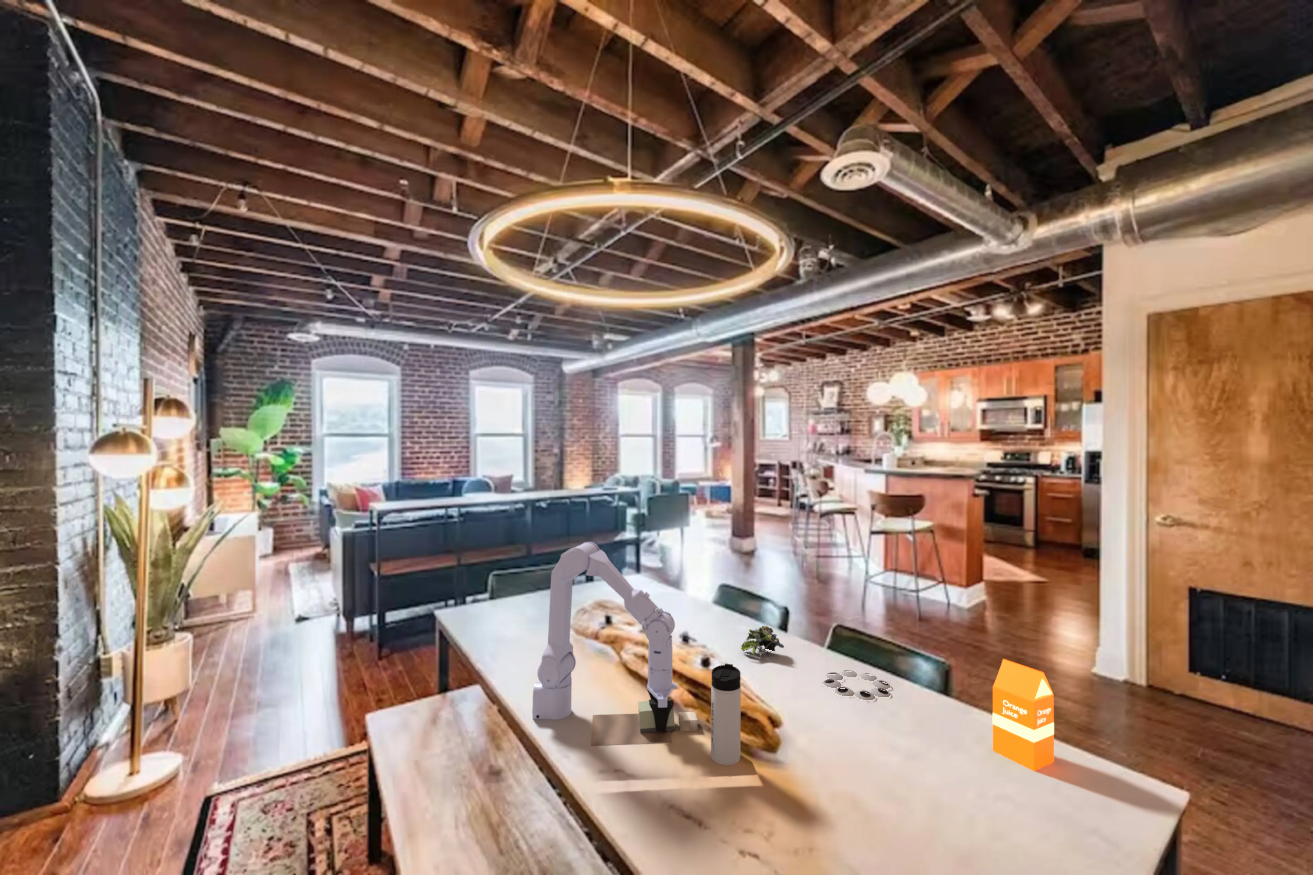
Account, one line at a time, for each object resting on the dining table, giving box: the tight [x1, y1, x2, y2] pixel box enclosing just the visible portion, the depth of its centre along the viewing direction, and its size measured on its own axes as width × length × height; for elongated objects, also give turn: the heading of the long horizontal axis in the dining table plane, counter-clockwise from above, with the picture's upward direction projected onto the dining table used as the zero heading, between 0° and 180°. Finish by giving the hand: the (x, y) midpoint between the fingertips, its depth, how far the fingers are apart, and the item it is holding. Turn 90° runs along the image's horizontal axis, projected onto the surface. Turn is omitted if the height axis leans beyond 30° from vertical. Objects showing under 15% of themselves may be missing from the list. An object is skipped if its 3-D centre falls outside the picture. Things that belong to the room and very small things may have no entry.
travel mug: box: [710, 663, 742, 766], centre depth 119 cm, size 6×7×20 cm
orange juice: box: [992, 658, 1055, 772], centre depth 123 cm, size 8×9×20 cm
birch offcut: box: [677, 711, 699, 732], centre depth 132 cm, size 4×4×4 cm
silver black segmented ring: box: [822, 669, 892, 700], centre depth 158 cm, size 20×20×2 cm
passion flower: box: [740, 625, 785, 657], centre depth 180 cm, size 11×11×12 cm
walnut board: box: [590, 713, 672, 747], centre depth 131 cm, size 18×14×2 cm
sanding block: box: [637, 698, 676, 733], centre depth 131 cm, size 8×5×5 cm, turn 95°
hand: (659, 724), depth 131 cm, fingers closed on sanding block, 5 cm apart
